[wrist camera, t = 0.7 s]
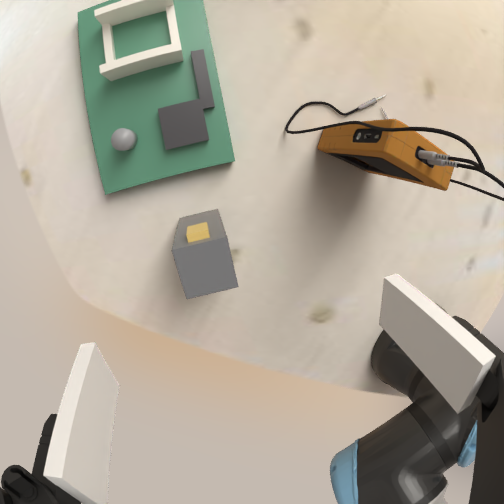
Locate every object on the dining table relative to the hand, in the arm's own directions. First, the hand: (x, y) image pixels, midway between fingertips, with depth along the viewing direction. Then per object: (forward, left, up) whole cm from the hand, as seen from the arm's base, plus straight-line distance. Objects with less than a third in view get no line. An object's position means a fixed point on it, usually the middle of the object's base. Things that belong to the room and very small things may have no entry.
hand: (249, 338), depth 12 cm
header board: (+17, +4, -20) cm, 26 cm away
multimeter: (+8, -17, -20) cm, 28 cm away
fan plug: (0, +2, -20) cm, 20 cm away
